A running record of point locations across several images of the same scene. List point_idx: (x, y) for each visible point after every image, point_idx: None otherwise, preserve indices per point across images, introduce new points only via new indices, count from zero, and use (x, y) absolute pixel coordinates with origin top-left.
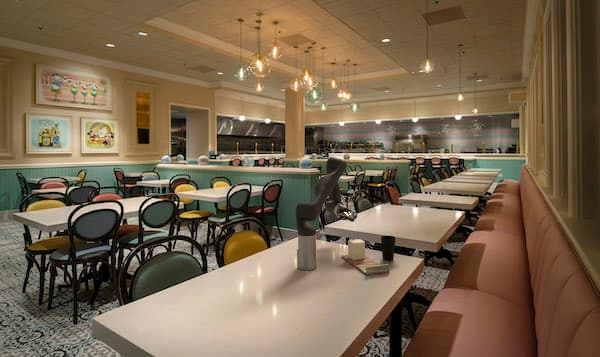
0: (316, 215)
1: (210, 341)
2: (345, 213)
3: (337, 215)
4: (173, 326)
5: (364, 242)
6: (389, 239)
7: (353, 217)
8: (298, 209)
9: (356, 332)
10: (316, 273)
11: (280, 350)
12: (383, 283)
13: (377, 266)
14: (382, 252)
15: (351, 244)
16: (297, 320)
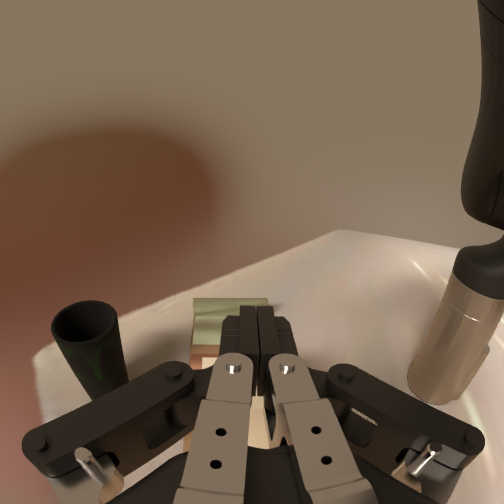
0: (461, 186)
1: (441, 249)
2: (333, 443)
3: (463, 437)
4: None
5: (206, 359)
6: (104, 303)
7: (222, 337)
8: None
9: (325, 235)
10: (398, 346)
11: (386, 236)
12: (244, 287)
13: (232, 298)
14: (124, 380)
15: None
16: (386, 252)
